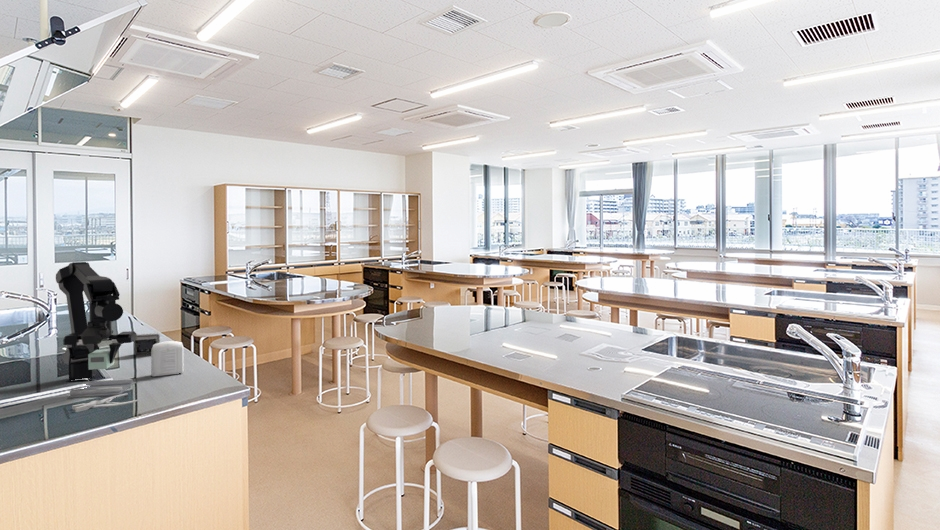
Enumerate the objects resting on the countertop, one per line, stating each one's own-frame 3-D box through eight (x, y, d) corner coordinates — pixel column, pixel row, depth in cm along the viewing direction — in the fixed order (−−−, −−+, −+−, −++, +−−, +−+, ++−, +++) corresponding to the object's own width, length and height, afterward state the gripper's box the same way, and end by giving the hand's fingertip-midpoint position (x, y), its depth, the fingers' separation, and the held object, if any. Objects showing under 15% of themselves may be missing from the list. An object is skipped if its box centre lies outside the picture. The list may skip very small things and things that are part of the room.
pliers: (138, 397, 150) (78, 411, 139) (138, 402, 151) (78, 416, 139) (127, 390, 156) (68, 402, 144) (127, 395, 157) (68, 407, 145)
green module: (88, 369, 155) (87, 354, 154) (97, 364, 161) (96, 349, 160) (106, 368, 156) (106, 353, 156) (114, 363, 162) (114, 349, 162)
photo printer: (183, 370, 183) (183, 338, 182) (184, 373, 179) (183, 341, 178) (151, 374, 177) (150, 341, 176) (151, 377, 173) (150, 344, 172)
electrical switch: (161, 352, 207) (160, 331, 206) (159, 356, 203) (158, 335, 201) (134, 354, 203) (133, 333, 201) (132, 358, 198) (131, 337, 197)
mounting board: (67, 398, 151) (67, 392, 151) (86, 385, 163) (86, 379, 163) (119, 395, 155) (119, 389, 155) (134, 382, 167) (134, 377, 167)
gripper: (52, 322, 147) (54, 372, 148) (123, 321, 152) (124, 369, 154) (71, 316, 158) (72, 362, 159) (136, 314, 163) (137, 359, 164)
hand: (101, 363), depth 159 cm, fingers closed on green module, 5 cm apart
